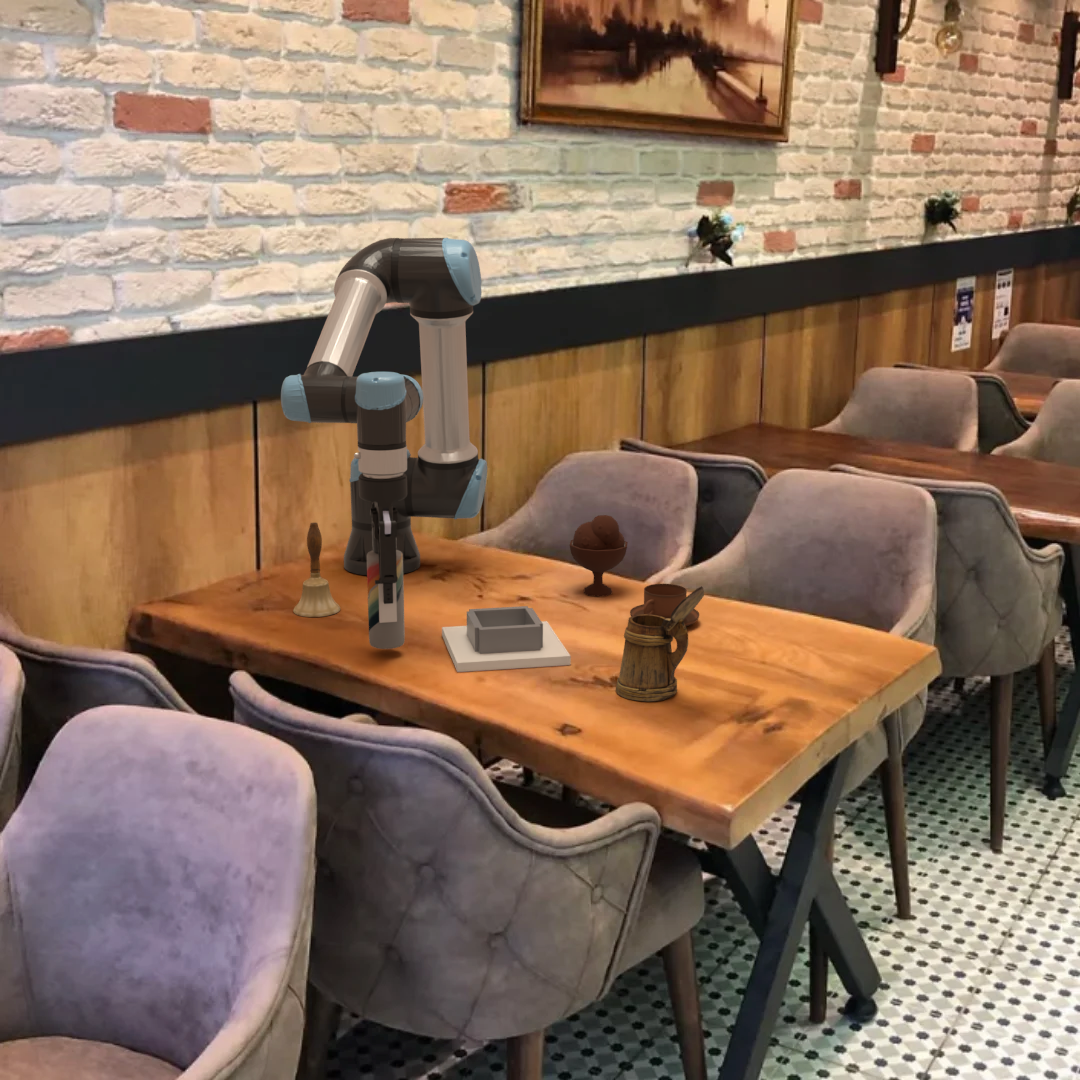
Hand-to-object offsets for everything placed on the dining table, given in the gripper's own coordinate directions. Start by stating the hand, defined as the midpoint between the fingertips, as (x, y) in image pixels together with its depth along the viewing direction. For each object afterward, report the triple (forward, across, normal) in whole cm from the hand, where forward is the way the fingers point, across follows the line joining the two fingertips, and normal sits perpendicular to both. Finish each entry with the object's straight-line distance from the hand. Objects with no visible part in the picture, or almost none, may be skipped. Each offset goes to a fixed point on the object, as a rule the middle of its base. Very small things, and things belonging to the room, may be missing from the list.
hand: (386, 614), depth 210 cm
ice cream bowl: (+7, -28, +42) cm, 51 cm away
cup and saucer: (+7, -8, +49) cm, 50 cm away
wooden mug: (+7, +25, +38) cm, 46 cm away
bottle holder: (+7, +1, +19) cm, 20 cm away
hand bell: (+7, -26, -10) cm, 29 cm away
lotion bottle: (+5, 0, 0) cm, 5 cm away
